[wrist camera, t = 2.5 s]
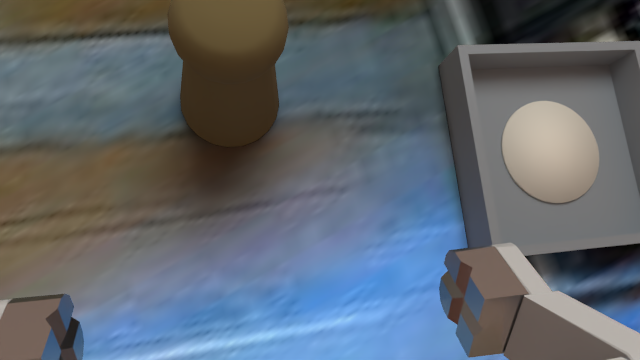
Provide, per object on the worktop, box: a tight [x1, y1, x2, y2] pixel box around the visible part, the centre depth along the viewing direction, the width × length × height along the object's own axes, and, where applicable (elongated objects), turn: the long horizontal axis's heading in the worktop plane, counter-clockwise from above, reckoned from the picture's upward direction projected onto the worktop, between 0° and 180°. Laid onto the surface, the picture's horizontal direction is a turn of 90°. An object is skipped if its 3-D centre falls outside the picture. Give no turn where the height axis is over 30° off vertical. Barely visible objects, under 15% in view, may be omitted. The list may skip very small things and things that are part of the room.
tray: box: [439, 41, 640, 256], centre depth 32 cm, size 13×13×3 cm
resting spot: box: [501, 101, 599, 203], centre depth 33 cm, size 7×7×1 cm
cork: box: [168, 0, 289, 147], centre depth 26 cm, size 6×6×11 cm
